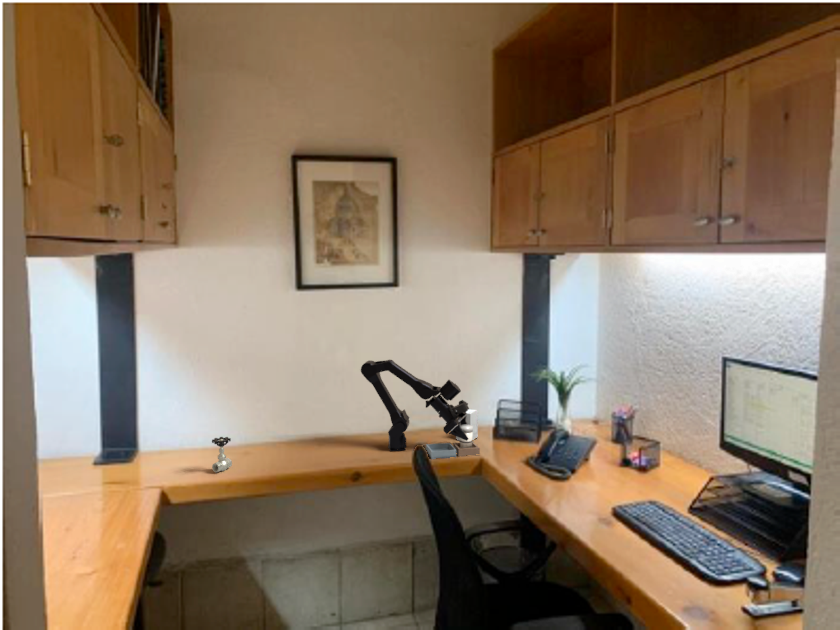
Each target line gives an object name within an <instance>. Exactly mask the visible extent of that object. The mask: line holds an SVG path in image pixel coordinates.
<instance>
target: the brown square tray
mask: <svg viewBox="0 0 840 630" xmlns="http://www.w3.org/2000/svg"><path fill="white" fill-rule="evenodd" d="M452 446H453V447H454V448H455V449H456V453H457V454H456V456H458V457H459V456H461V457H467V456H466V455H475V456H477V455H476V454H481V453H480V451H481V450H480V449H481V448H480V447H479V446H478V444H476V443H475V442H474V441H472V448H461V449H460V442H453V443H452Z"/></svg>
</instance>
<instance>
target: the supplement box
mask: <svg viewBox="0 0 840 630" xmlns="http://www.w3.org/2000/svg"><path fill="white" fill-rule="evenodd" d="M466 413H467V414H466V415H467V417H466V422H467V424H468V425H472V426H473V432H472V440H474V439H475V438H477V437H478V438H479V436H478V434H479V425H478V424H479V422H478V420H479V419H478V418H479V415H478V414H479V412H478V409H472V408H471V409H470V408H469V409H468V411H466ZM466 415H465V416H466ZM465 416H463V417H465ZM478 438H477V439H478ZM456 439H457V440H456ZM455 440H456V441H460V438H459V437H457V436H455ZM474 441H475V440H474Z"/></svg>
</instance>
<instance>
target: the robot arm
mask: <svg viewBox="0 0 840 630" xmlns="http://www.w3.org/2000/svg"><path fill="white" fill-rule="evenodd" d="M361 365H362V366H361V367H360V372H361V374H362V375H363V377H364V378H365V379H366V380H367V382H369V383H370V384H371V385H372V386H373V388H374V390H375V391H376V393H377V395H378V396H379V398H380V400H381V402H382V404H383V405H384V407H385V409H386V411H387V412H388V414H389V417H390V422H391V425H392V426H390V428H389V430H388V432H387V434H388V445H387V448H388V449H389V452H398V451H406V450H407V449H406V448H407V437H406V435H405V432H406V430H408V427H409V425H410V416H409V415H408V414H407V411H406V409H403V410H402V409H400V408H399V406H398V405H397V403H396V402H395V399H394V398H393V396H392V394H391V393H390V391H389V390H388V388H387V387H386V385H385V383H384V381H383V380H382V379H383V378H382V377H381V373H382V372H390V373H391V374H392V375H394V376H395V377H397V378H398V379H399V380H401V381H402V382H404V383H405V384H406V385H408V386H409V387H411V388H412V390H414V392H415V393H416V395H417V396H419V397H420V398H421V399H423V400H425V408H426V409H427V408H429V407H430V406H431V408H433V410H434V411H435V412H437V413H438V417H439V418H440V419H441V418H442V419H443V420H444V422H445V425H444V426H443V432H444V433H445V435H448V434H449V435H452V436H454V437H456V436H457V437H459V438H462V439H464V440H466V441H467V440H468V437H467V436H466V434H465V433H464V431H463V430H462V429H461V425H463V424H467V422H466V417H467V415H466V414H467V413H466V411H468V409H470V408H469V406H468V405H469V403H468V402H467V401H466V400H463V399H461V400H459V401H458V404H456V405H453V404H449V403H448V401H453V400H454V398H455V397H457V396H458V395H459V394H460V393H461V389H460V387H459V386H458V385H457V384H456V383H454V381H452V380H450V379H447V380H446V382H445V383H444V384H443V385H442V386H436V385H432V383H430V382H428V381H425V380H424V379H420V378H418V377H416V376H415V375H413V374H412V373H410V372H409V371H408V370H406V369H404V368H403V367H402V366H400V365H399V364H398V363H396V362H395V361H394V360H392V359H387V360H378V361H377V360H376V361H374V360H367V361H365V362H364V363H363V364H361ZM465 415H466V416H465ZM463 416H465V417H463Z"/></svg>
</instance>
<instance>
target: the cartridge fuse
mask: <svg viewBox="0 0 840 630" xmlns="http://www.w3.org/2000/svg"><path fill="white" fill-rule="evenodd" d="M461 429H462V430H463V431H464V433H465V434H466V436H467V437H468V440H467V441H466V440H464V439H462V438H460V440H459V443H460V449H461V448H472V442H473V441H472V432H473V426H472V425H468V424H463V425H461Z"/></svg>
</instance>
